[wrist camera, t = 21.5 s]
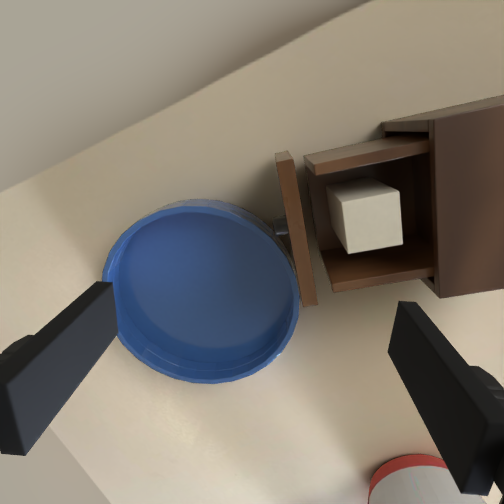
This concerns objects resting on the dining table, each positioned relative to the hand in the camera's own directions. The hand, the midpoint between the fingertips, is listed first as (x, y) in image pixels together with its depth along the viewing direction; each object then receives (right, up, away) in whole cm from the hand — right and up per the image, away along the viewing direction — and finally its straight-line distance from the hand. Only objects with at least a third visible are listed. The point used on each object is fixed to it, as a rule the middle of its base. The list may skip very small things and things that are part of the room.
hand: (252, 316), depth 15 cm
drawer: (+9, +8, +17) cm, 20 cm away
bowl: (-5, -1, +22) cm, 22 cm away
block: (+9, +8, +16) cm, 20 cm away
